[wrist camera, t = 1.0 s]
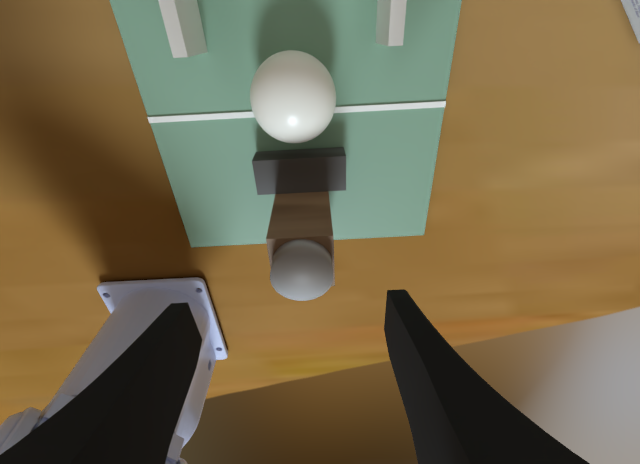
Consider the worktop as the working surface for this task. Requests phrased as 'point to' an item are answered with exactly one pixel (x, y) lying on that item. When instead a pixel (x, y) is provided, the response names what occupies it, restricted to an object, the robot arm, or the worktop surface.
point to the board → (343, 131)
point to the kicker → (300, 217)
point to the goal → (190, 41)
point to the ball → (293, 96)
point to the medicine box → (633, 15)
